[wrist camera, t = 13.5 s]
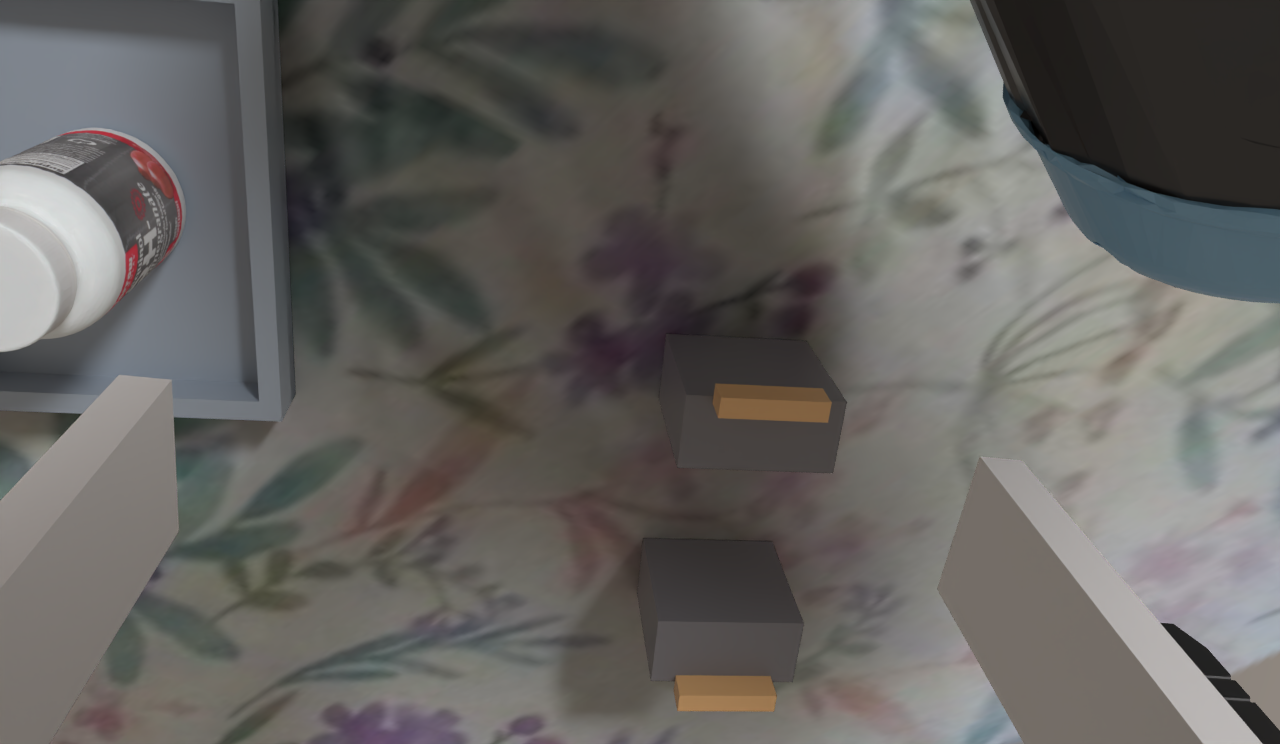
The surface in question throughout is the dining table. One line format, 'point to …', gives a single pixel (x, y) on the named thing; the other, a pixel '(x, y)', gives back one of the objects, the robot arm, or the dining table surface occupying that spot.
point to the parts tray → (208, 175)
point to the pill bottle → (80, 230)
